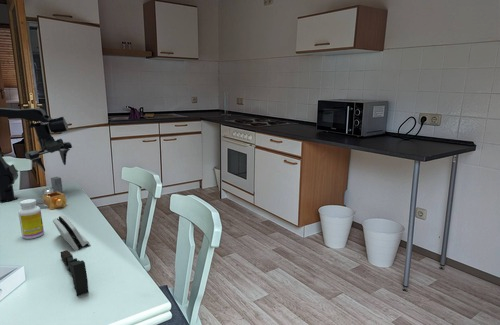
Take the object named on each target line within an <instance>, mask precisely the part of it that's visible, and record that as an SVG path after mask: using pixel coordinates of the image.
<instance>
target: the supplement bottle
mask: <svg viewBox="0 0 500 325" xmlns="http://www.w3.org/2000/svg"><path fill="white" fill-rule="evenodd" d="M36 200H37V199H36V198H28V199H24V200H21V201H20V202H19V203H20V207H21V208H19V210H18V219H19V225H20V231H21V237H22V238H23V239H25V240H32V239H36V238H39V237H41V236H43V235H44V233H45V230H44V223H43V217H42V209H40V207H38V206H36Z"/></svg>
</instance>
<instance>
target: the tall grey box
mask: <svg viewBox="0 0 500 325" xmlns="http://www.w3.org/2000/svg"><path fill="white" fill-rule="evenodd" d="M62 182H63V181H62V178H61V177H60V176H54V177H50V183H51V188H52V189H53V192H57V191H58V192H61V193H63V194H64V189H63V184H62Z"/></svg>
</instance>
